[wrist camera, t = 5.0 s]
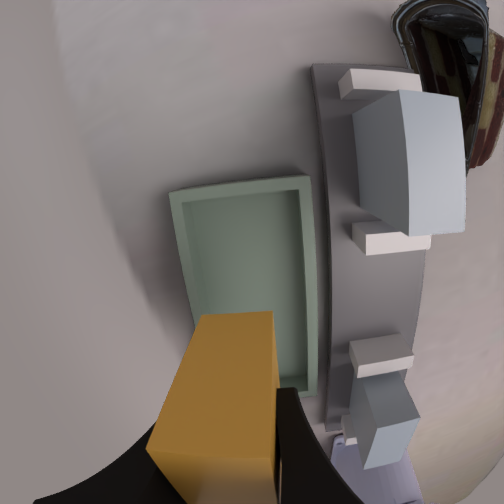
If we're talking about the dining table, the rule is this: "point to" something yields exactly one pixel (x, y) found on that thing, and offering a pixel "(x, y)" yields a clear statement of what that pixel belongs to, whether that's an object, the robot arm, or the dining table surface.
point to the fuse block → (362, 246)
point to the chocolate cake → (457, 64)
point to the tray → (255, 262)
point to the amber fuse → (223, 414)
